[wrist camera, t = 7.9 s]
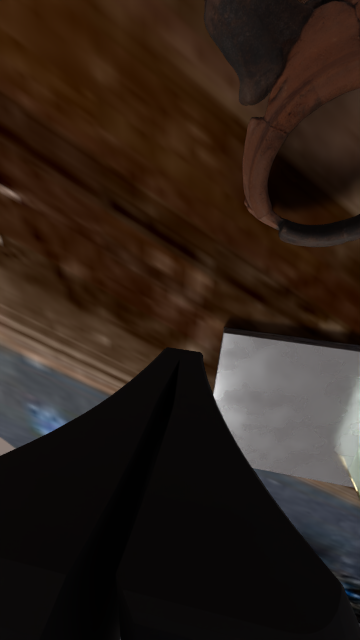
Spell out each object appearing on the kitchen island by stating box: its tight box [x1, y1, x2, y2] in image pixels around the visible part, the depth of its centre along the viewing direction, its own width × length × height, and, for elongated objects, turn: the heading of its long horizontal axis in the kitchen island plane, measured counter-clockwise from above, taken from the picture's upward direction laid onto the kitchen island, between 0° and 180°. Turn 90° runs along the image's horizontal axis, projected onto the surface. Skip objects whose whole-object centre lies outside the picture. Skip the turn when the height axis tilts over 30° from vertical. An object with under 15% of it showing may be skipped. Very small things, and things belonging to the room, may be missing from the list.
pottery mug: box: [204, 0, 360, 247], centre depth 12 cm, size 12×10×8 cm
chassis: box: [213, 327, 360, 499], centre depth 20 cm, size 19×14×4 cm
